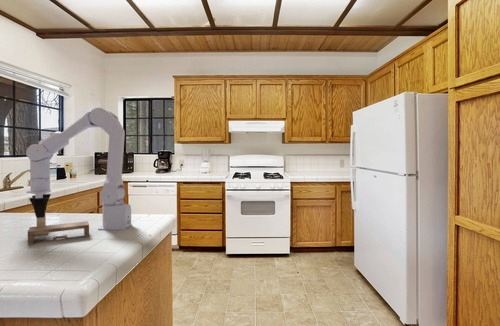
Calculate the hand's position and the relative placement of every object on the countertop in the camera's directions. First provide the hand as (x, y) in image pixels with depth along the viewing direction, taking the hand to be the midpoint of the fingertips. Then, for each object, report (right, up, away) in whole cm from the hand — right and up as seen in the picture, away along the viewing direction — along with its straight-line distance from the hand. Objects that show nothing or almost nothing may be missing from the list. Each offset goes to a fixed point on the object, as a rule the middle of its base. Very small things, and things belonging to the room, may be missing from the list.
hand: (40, 215), depth 103 cm
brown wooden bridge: (+14, -5, -11) cm, 19 cm away
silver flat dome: (+14, -6, -11) cm, 19 cm away
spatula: (+2, -5, -3) cm, 7 cm away
